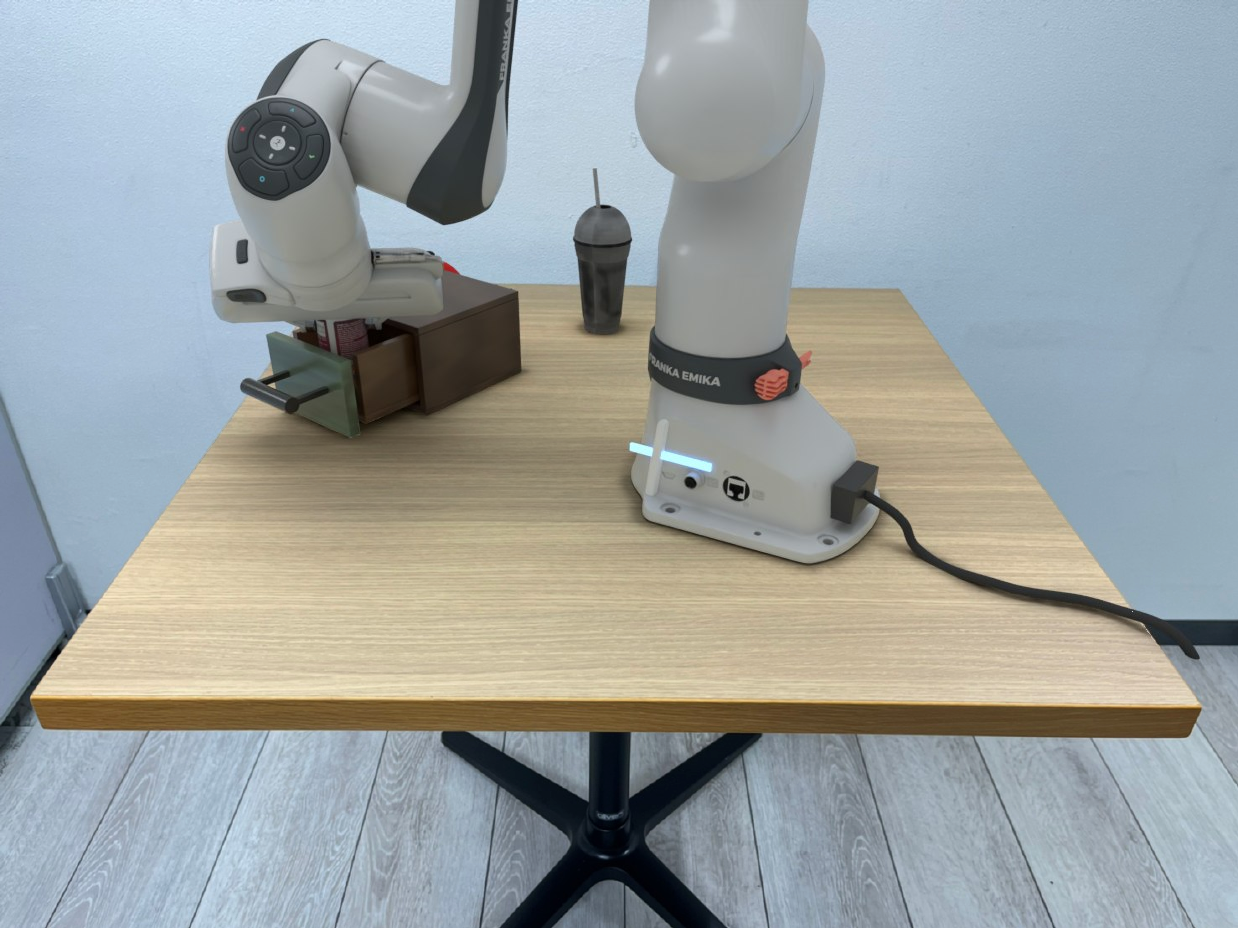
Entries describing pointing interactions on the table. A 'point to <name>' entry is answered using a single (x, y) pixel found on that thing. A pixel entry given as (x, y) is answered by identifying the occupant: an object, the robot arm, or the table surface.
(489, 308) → the cabinet
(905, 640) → the table surface
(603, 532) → the table surface
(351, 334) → the pill bottle
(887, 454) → the table surface
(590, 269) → the beverage cup
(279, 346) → the drawer
